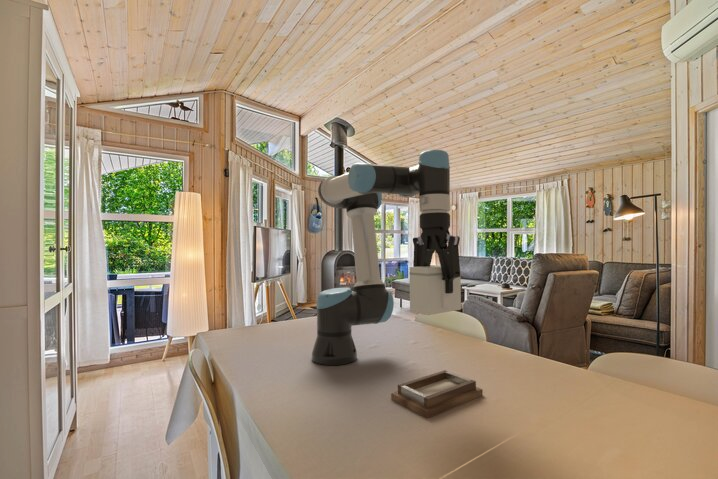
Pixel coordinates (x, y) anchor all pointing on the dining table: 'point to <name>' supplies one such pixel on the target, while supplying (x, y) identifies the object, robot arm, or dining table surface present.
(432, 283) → the white lidded box
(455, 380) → the tray
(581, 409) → the dining table surface
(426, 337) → the dining table surface
